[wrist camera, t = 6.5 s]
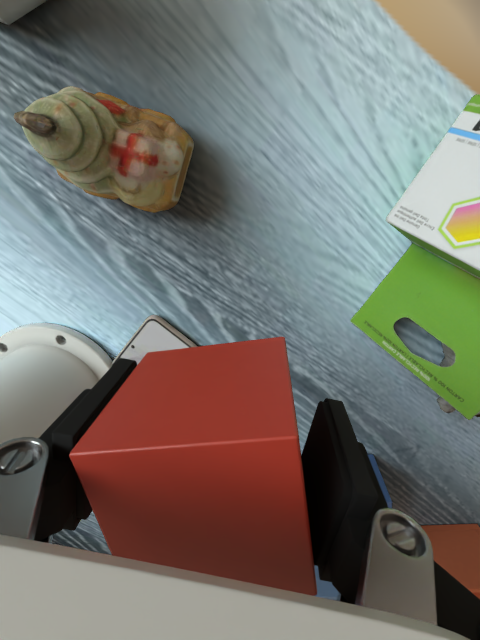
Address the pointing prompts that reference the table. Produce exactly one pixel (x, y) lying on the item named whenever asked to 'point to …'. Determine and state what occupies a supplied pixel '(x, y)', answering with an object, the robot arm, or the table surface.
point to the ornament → (110, 147)
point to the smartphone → (153, 340)
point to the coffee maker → (16, 9)
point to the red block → (204, 466)
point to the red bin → (457, 552)
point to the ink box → (438, 267)
